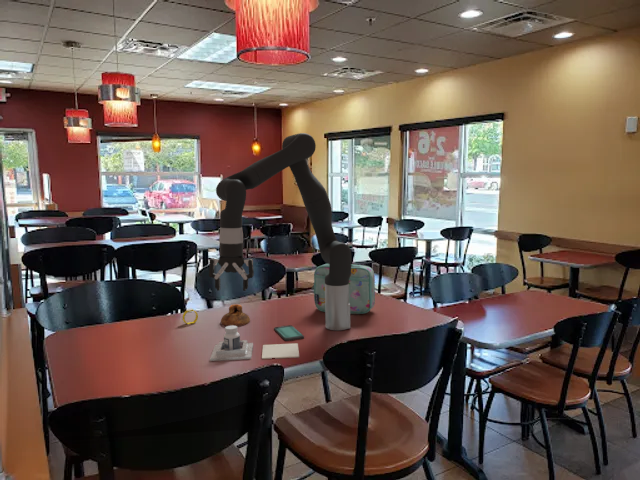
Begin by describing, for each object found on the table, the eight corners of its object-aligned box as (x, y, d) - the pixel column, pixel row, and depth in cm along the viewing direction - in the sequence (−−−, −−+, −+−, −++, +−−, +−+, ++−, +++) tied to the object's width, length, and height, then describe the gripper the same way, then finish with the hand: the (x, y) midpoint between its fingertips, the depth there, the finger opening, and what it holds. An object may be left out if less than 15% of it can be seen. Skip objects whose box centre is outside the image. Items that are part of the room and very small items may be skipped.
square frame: (253, 344, 169) (252, 338, 168) (251, 359, 156) (250, 351, 156) (215, 346, 168) (215, 339, 167) (210, 361, 155) (209, 353, 154)
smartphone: (291, 324, 188) (304, 335, 174) (291, 327, 188) (304, 339, 175) (273, 327, 186) (285, 338, 172) (273, 330, 186) (285, 342, 172)
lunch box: (309, 312, 207) (308, 263, 204) (317, 306, 216) (316, 259, 213) (371, 317, 199) (371, 265, 196) (376, 310, 209) (376, 261, 206)
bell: (253, 318, 200) (252, 301, 199) (245, 327, 189) (245, 309, 188) (225, 318, 202) (224, 301, 201) (216, 327, 190) (215, 309, 189)
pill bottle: (241, 349, 164) (240, 324, 163) (239, 355, 159) (238, 329, 158) (225, 350, 164) (224, 324, 163) (223, 355, 159) (222, 329, 158)
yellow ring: (185, 326, 192) (183, 312, 191) (182, 324, 194) (180, 310, 193) (199, 322, 195) (197, 308, 194) (196, 320, 198) (194, 306, 197)
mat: (297, 344, 168) (297, 343, 168) (299, 357, 157) (299, 356, 157) (263, 346, 167) (263, 344, 167) (261, 359, 156) (261, 357, 156)
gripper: (254, 240, 160) (254, 288, 162) (211, 239, 160) (212, 287, 162) (251, 243, 153) (251, 293, 155) (206, 242, 153) (207, 292, 155)
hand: (231, 290), depth 159 cm, fingers open, 8 cm apart
